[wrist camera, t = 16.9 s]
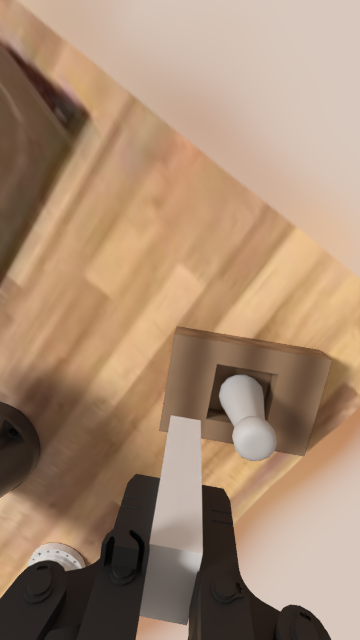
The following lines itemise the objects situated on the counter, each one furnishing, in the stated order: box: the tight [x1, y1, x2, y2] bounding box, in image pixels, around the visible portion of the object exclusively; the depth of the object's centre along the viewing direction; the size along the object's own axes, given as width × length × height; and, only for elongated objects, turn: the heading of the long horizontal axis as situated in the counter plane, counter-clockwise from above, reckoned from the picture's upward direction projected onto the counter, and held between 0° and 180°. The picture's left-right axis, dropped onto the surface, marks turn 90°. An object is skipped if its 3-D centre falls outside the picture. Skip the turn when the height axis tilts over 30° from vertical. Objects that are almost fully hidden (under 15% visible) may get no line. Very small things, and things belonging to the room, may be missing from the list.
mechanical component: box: [28, 543, 86, 571], centre depth 50 cm, size 10×4×10 cm
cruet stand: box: [159, 326, 332, 456], centre depth 40 cm, size 20×14×4 cm
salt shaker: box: [219, 374, 277, 461], centre depth 35 cm, size 6×6×13 cm
